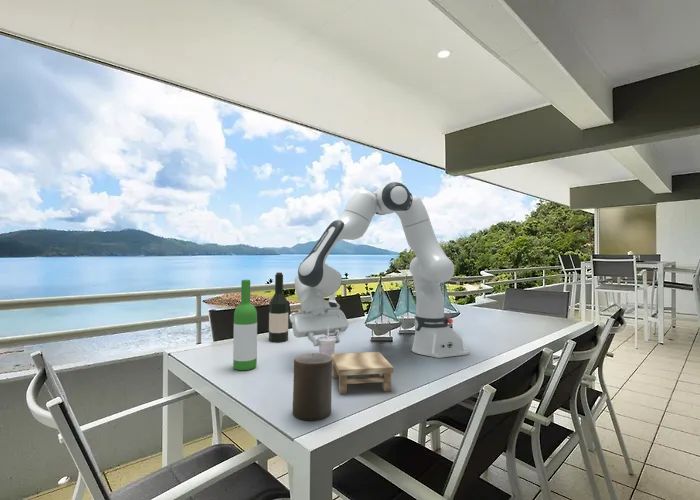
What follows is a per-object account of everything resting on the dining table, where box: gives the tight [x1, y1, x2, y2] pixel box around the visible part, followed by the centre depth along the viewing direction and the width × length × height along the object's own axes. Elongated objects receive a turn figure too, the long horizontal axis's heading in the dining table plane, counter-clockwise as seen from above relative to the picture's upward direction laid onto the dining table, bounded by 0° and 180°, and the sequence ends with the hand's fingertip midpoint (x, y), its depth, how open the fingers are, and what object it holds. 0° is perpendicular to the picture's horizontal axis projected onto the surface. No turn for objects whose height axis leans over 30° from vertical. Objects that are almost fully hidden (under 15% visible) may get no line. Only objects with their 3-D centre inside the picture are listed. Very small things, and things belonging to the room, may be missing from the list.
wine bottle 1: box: [232, 279, 258, 371], centre depth 127 cm, size 8×8×30 cm
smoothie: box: [317, 326, 336, 366], centre depth 126 cm, size 6×6×14 cm
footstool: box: [331, 351, 394, 395], centre depth 114 cm, size 16×16×7 cm
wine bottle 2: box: [268, 272, 289, 344], centre depth 164 cm, size 8×8×30 cm
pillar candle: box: [292, 352, 333, 422], centre depth 94 cm, size 10×10×15 cm
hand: (327, 343), depth 126 cm, fingers closed on smoothie, 6 cm apart
